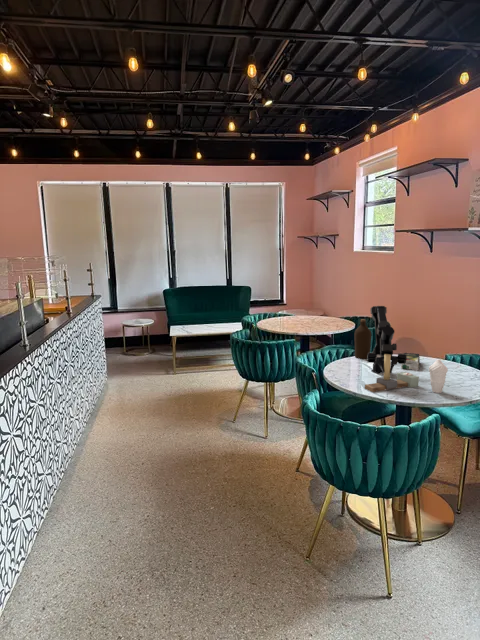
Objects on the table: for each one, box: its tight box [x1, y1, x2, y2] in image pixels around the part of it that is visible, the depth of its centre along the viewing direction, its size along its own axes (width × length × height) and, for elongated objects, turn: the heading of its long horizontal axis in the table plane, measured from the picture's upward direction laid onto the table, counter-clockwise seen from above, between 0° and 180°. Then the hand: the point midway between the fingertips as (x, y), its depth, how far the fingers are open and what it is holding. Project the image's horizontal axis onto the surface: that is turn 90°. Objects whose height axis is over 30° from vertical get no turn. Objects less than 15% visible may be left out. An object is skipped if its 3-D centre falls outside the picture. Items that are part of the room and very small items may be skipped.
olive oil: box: [353, 318, 372, 360], centre depth 272 cm, size 11×11×25 cm
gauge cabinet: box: [396, 371, 420, 388], centre depth 216 cm, size 5×10×6 cm, turn 20°
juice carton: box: [400, 352, 420, 371], centre depth 251 cm, size 20×10×6 cm, turn 156°
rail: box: [364, 379, 409, 393], centre depth 211 cm, size 22×6×2 cm, turn 110°
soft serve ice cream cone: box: [428, 358, 449, 394], centre depth 202 cm, size 8×8×16 cm
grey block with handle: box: [375, 354, 398, 390], centre depth 210 cm, size 6×8×16 cm
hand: (387, 372), depth 209 cm, fingers closed on grey block with handle, 3 cm apart
